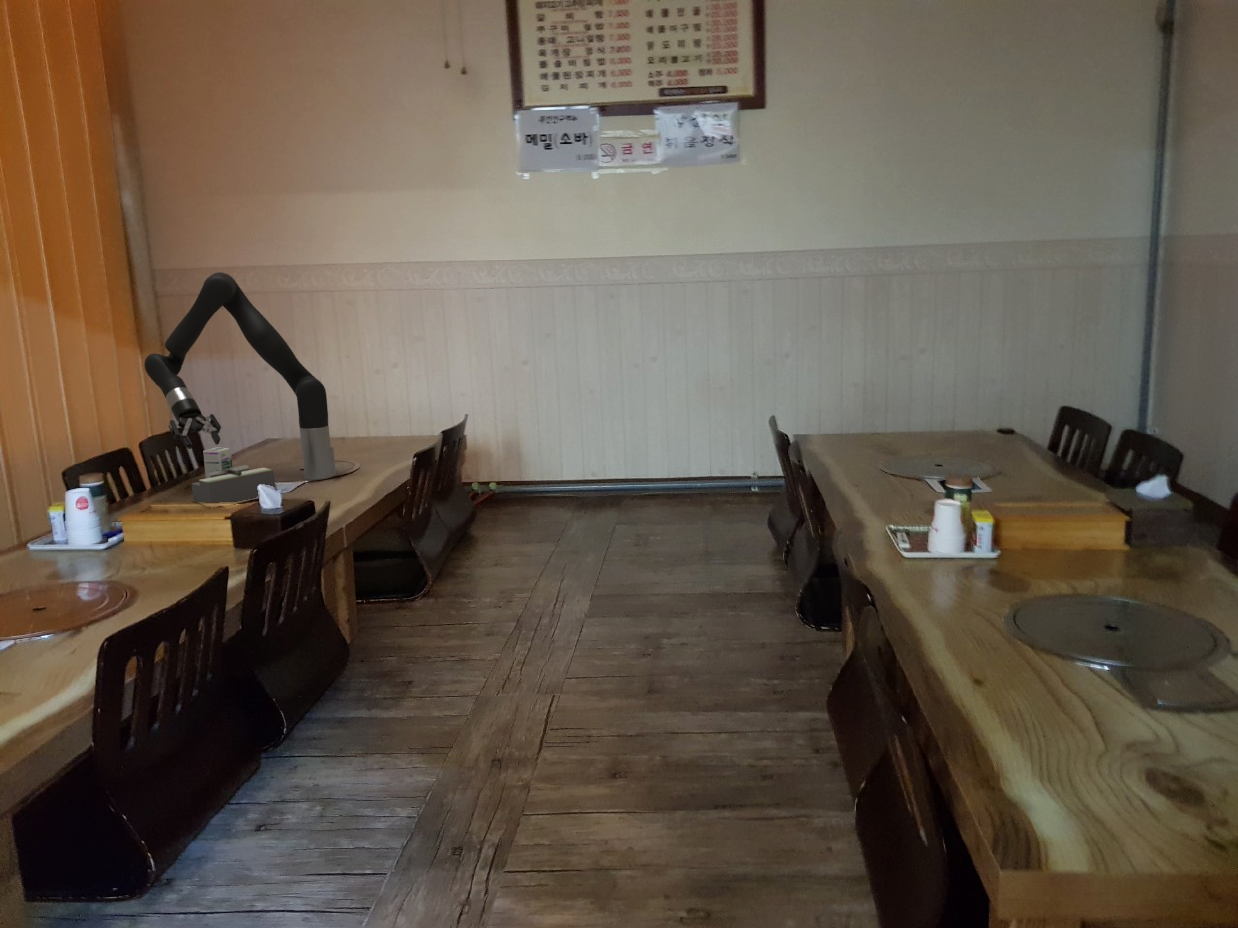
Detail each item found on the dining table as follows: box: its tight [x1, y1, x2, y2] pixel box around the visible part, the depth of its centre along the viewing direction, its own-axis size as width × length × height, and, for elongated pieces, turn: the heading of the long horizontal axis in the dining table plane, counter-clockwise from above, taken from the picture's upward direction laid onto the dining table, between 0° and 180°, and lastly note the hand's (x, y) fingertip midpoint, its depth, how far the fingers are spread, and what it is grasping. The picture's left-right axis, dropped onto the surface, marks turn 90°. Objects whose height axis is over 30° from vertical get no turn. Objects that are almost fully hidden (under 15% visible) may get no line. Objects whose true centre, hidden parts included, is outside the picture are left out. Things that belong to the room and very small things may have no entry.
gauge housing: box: [191, 467, 276, 503], centre depth 295 cm, size 20×13×8 cm, turn 137°
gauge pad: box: [207, 464, 250, 478], centre depth 294 cm, size 12×8×8 cm
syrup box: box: [202, 446, 233, 479], centre depth 300 cm, size 6×6×14 cm
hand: (204, 445), depth 303 cm, fingers open, 8 cm apart
